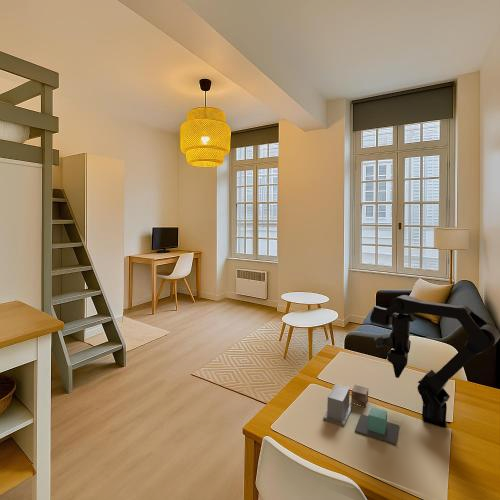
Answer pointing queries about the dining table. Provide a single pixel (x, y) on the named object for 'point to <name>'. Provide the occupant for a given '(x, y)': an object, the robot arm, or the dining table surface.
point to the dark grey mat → (389, 435)
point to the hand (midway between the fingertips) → (398, 372)
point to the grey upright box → (338, 405)
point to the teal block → (377, 420)
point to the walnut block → (359, 395)
